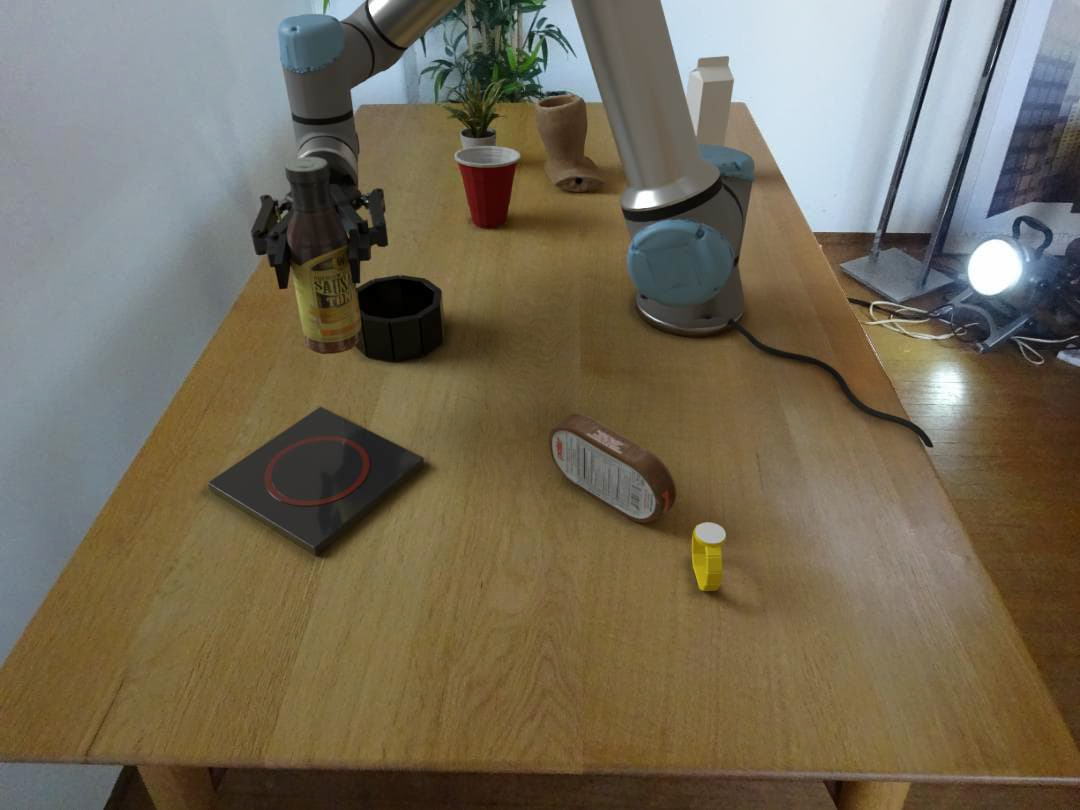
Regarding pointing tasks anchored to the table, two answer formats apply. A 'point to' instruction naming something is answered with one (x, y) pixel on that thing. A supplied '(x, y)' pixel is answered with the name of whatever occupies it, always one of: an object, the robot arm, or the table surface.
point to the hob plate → (316, 478)
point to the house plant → (476, 115)
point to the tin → (612, 468)
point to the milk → (710, 99)
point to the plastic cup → (488, 182)
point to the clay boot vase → (567, 143)
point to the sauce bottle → (321, 261)
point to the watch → (708, 555)
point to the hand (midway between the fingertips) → (317, 273)
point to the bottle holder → (404, 333)
